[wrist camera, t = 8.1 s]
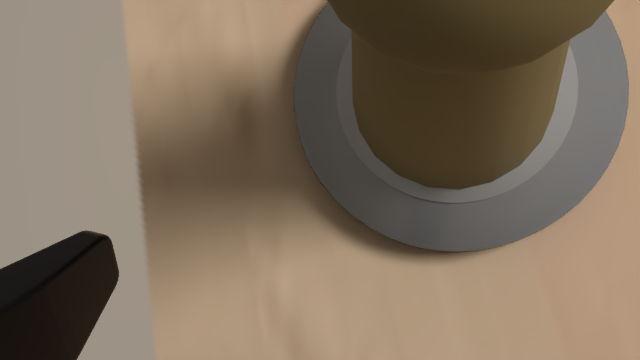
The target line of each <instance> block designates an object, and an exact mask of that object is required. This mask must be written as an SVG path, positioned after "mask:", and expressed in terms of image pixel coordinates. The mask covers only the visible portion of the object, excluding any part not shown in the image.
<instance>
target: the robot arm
mask: <svg viewBox="0 0 640 360" xmlns="http://www.w3.org/2000/svg"><path fill="white" fill-rule="evenodd" d="M118 277H119V270H118V265H117V261H116V257H115V253H114V249H113V245H112V242H111V239H110V238H109V237H108V236H107V235H104V234H100V233H95V232H92V231H82V232H79V233H77V234H75V235H73V236H71V237H69V238H66V239H64V240H62V241H60V242H58V243H55V244H53V245H51V246H49V247H47V248H45V249H43V250H41V251H38V252H36V253H34V254H32V255H30V256H28V257H25V258H23V259H21V260H19V261H17V262H15V263H13V264H10V265H8V266H6V267H4V268H2V269H0V360H77V358H78V356H79V355H80V353H81V351H82V349H83V347H84V345H85V343H86V341H87V340H88V338H89V336H90V334H91V332H92V330H93V328H94V326H95V324H96V322H97V321H98V319H99V317H100V315H101V313H102V311H103V309H104V308H105V306H106V304H107V302H108V300H109V298H110V296H111V294H112V292H113V290H114V288H115V286H116V284H117V281H118Z"/></svg>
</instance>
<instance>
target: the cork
mask: <svg viewBox="0 0 640 360" xmlns="http://www.w3.org/2000/svg"><path fill="white" fill-rule="evenodd" d="M327 1H328V2H329V4H330V5H331V7H332V8H333V10H334V12H335V13H336V15H337V16H338V18H339V19H340V21H341V22H342V23H344V24H345V25H346V26H347V27H349V28H350V29H351V40H352V97H353V106H354V111H355V115H356V119H357V124H358V128H359V131H360V133H361V134H362V136H363V138H364V139H365V141H366V143H367V144H368V146H369V147H370V149H371V151H372V152H373V154H374V156H375V157H377V158H378V159H379V160H380V161H381V162H383V163H384V164H385V165H386V166H387V167H389V168H390V169H391V170H392V171H393V172H395V173H396V174H397V175H398V176H401V177H403V178H406V179H408V180H411V181H413V182H416V183H418V184H421V185H423V186H426V187H432V188H445V189H458V190H460V189H465V188H469V187H473V186H478V185H482V184H486V183H491V182H493V181H495V180H496V179H498V178H500V177H502V176H503V175H505V174H507V173H508V172H510V171H512V170H513V169H515V168H517V167H518V166H520V165H521V164H522V163H523V162H524V161H525V159H526V158H527V157H528V156H529V155H530V154H531V153H532V152H533V150H534V149H535V148H536V147H537V146H538V145H539V144H540V142H541V141H542V139H543V137H544V134H545V132H546V129H547V127H548V124H549V122H550V120H551V117H552V115H553V112H554V108H555V104H556V100H557V95H558V91H559V87H560V82H561V78H562V74H563V69H564V65H565V61H566V56H567V52H568V48H569V43H570V39H571V38H573V37H575V36H576V35H578V34H580V33H581V32H583V31H584V30H586V29H588V28H589V27H591V26H592V25H593V24H594V23H595V22H596V20H597V19H598V18H599V17H600V16H601V15H602V14H603V13H604V11H605V10H606V9H607V8H608V7H609V6H610V5H611V3H612V2H613V1H614V0H327Z"/></svg>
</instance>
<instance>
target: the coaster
mask: <svg viewBox="0 0 640 360" xmlns="http://www.w3.org/2000/svg"><path fill="white" fill-rule="evenodd" d="M628 97H629V80H628V72H627V64H626V59H625V55H624V52H623V48H622V45H621V41H620V39H619V36H618V34H617V32H616V30H615V27H614V25H613V23H612V21H611V19H610V18H609V16H608V14H607V13H606V11H604V13H603V14H602V15H601V16H600V17H599V18H598V19H597V20H596V22H595V23H594V24H593V25H592V26H591V27H589V28H588V29H586V30H584V31H583V32H581V33H580V34H578V35H576V36H575V37H573V38H571V39H570V43H569V48H568V52H567V56H566V61H565V65H564V69H563V74H562V78H561V82H560V87H559V91H558V95H557V100H556V104H555V108H554V112H553V115H552V117H551V120H550V122H549V124H548V127H547V129H546V132H545V134H544V137H543V139H542V141H541V142H540V144H539V145H538V146H537V147H536V148H535V149H534V150H533V152H532V153H531V154H530V155H529V156H528V157H527V158H526V159H525V161H524V162H523V163H522V164H521V165H520V166H518V167H517V168H515V169H513V170H512V171H510V172H508V173H507V174H505V175H503V176H502V177H500V178H498V179H496V180H495V181H493V182H491V183H486V184H482V185H478V186H473V187H469V188H465V189H460V190H458V189H445V188H432V187H426V186H423V185H421V184H418V183H416V182H413V181H411V180H408V179H406V178H403V177H401V176H398V175H397V174H396V173H395V172H393V171H392V170H391V169H390V168H389V167H387V166H386V165H385V164H384V163H383V162H381V161H380V160H379V159H378V158H377V157H375V156H374V154H373V152H372V151H371V149H370V147H369V146H368V144H367V143H366V141H365V139H364V138H363V136H362V134H361V133H360V131H359V128H358V124H357V119H356V115H355V111H354V106H353V97H352V40H351V29H350V28H349V27H347V26H346V25H345V24H344V23H342V22H341V21H340V19H339V18H338V16H337V15H336V13H335V12H334V10H333V8H332V7H331V5H330V4H329V2H328V3H327V4H326V6H325V7H324V8H323V10H322V11H321V13H320V14H319V15H318V17H317V19H316V20H315V22H314V24H313V26H312V28H311V30H310V32H309V33H308V36H307V38H306V41H305V43H304V46H303V48H302V51H301V54H300V58H299V62H298V66H297V70H296V78H295V87H294V111H295V117H296V124H297V130H298V133H299V137H300V140H301V143H302V147H303V150H304V152H305V154H306V156H307V159H308V161H309V163H310V165H311V167H312V169H313V170H314V172H315V174H316V175H317V177H318V178H319V180H320V182H321V183H322V185H323V186H324V187H325V188H326V189H327V191H328V192H329V193H330V194H331V195H332V197H333V198H334V199H335V200H336V201H337V202H338V203H339V204H340V205H341V206H342V207H343V208H345V209H346V210H347V211H348V212H349V213H350V214H351V215H352V216H354V217H355V218H357V219H358V220H359V221H361V222H362V223H364V224H365V225H367V226H368V227H369V228H371V229H373V230H375V231H377V232H379V233H380V234H382V235H384V236H386V237H388V238H391V239H393V240H396V241H399V242H401V243H404V244H407V245H410V246H415V247H419V248H423V249H428V250H436V251H446V252H464V251H477V250H484V249H490V248H495V247H499V246H502V245H505V244H509V243H512V242H515V241H518V240H520V239H523V238H525V237H527V236H529V235H531V234H534V233H536V232H538V231H540V230H542V229H544V228H545V227H547V226H549V225H550V224H552V223H554V222H555V221H557V220H558V219H560V218H562V217H563V216H564V215H565V214H566V213H568V212H569V211H570V210H571V209H572V208H574V207H575V206H576V205H577V204H579V203H580V201H581V200H582V199H583V198H584V197H585V196H586V195H587V194H588V193H589V192H590V191H591V190H592V188H593V187H594V186H595V185H596V183H597V182H598V181H599V179H600V178H601V176H602V175H603V173H604V172H605V170H606V169H607V168H608V166H609V164H610V162H611V160H612V158H613V156H614V154H615V152H616V150H617V148H618V145H619V142H620V139H621V136H622V133H623V130H624V126H625V121H626V115H627V109H628Z"/></svg>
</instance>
